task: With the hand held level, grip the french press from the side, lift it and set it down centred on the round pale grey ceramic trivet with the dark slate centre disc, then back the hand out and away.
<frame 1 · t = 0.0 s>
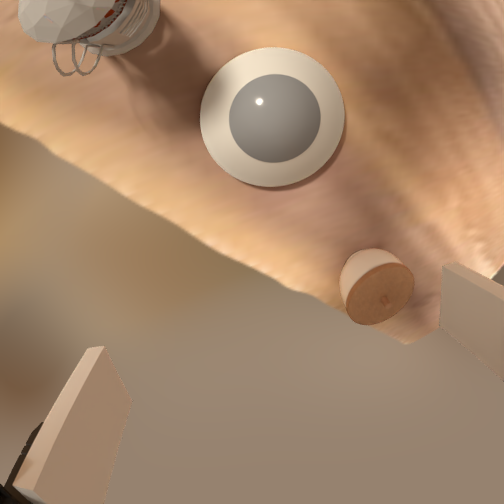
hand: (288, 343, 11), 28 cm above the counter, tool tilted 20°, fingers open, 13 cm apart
trivet: (272, 116, 33), on the counter
lidded jar: (360, 264, 47), on the counter
french press: (114, 22, 24), on the counter
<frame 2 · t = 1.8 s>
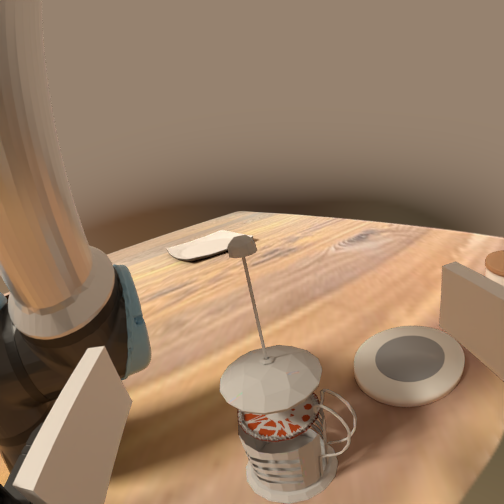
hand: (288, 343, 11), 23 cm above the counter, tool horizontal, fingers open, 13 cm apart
plate: (208, 249, 120), on the counter
trivet: (409, 365, 37), on the counter
french press: (299, 469, 27), on the counter
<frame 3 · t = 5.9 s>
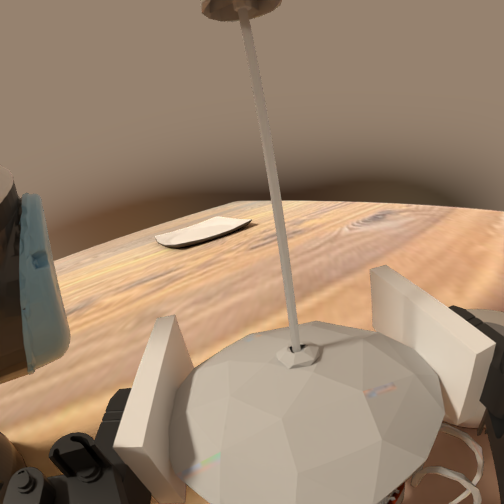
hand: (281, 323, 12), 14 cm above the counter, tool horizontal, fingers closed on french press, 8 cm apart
plate: (201, 236, 105), on the counter
trivet: (478, 364, 22), on the counter
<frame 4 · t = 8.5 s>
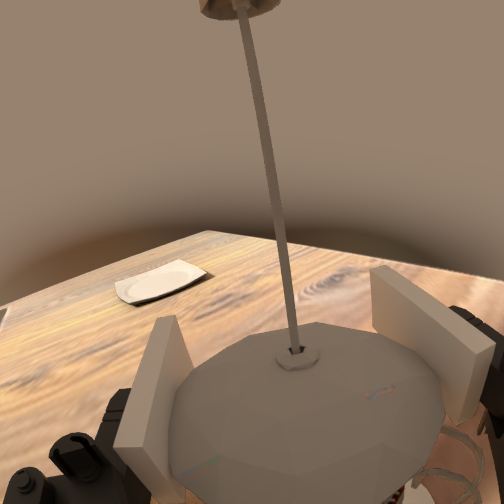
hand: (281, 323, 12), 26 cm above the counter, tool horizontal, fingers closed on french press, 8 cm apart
plate: (159, 286, 101), on the counter
when the fingers open (17 cm above the counter, at t = 11.0 s): french press drops 1 cm, resting on trivet.
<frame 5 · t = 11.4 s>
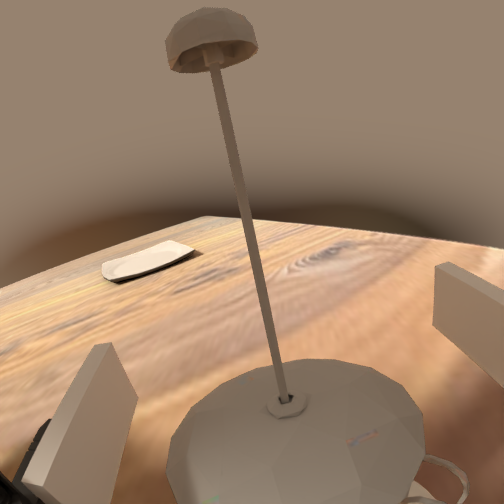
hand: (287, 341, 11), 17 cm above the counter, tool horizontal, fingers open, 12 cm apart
plate: (146, 265, 95), on the counter
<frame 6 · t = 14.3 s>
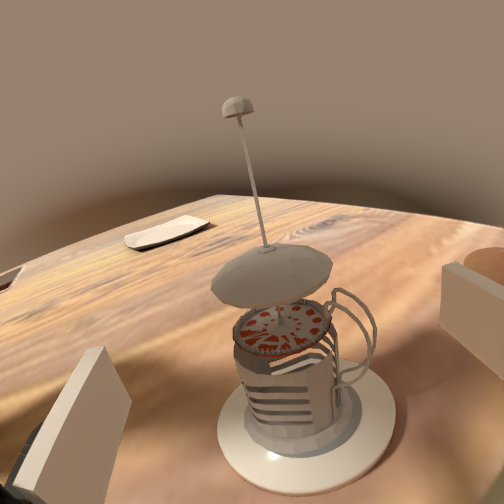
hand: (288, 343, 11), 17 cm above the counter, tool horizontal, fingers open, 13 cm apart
plate: (165, 236, 108), on the counter
trivet: (307, 422, 25), on the counter
lidded jar: (494, 321, 30), on the counter
french press: (306, 413, 25), point 2 cm above the counter, touching trivet
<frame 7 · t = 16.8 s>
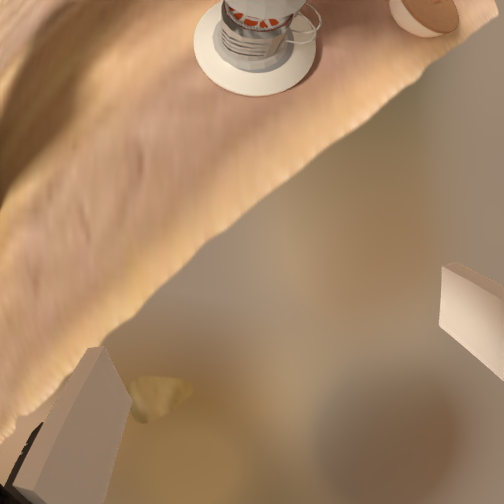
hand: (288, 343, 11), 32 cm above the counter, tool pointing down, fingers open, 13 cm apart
trivet: (254, 43, 35), on the counter
lidded jar: (406, 17, 35), on the counter
french press: (256, 40, 34), point 2 cm above the counter, touching trivet
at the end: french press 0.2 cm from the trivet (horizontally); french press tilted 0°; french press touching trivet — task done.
